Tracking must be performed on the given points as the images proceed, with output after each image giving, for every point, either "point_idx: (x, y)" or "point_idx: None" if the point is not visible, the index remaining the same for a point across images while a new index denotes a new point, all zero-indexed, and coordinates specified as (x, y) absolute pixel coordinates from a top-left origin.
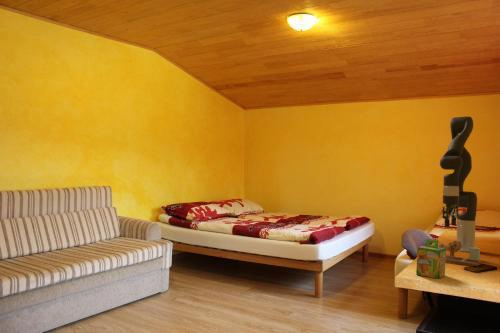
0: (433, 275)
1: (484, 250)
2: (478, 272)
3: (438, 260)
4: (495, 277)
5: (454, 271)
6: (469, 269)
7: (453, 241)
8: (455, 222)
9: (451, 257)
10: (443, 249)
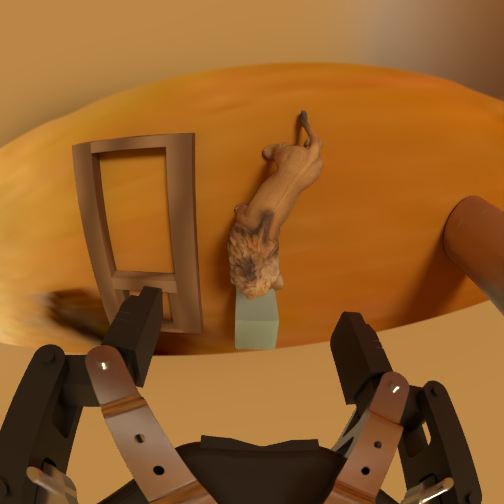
0: None
1: None
2: (56, 324)
3: None
4: None
5: (13, 276)
6: (65, 304)
7: (250, 260)
8: (337, 368)
9: (171, 229)
10: None
